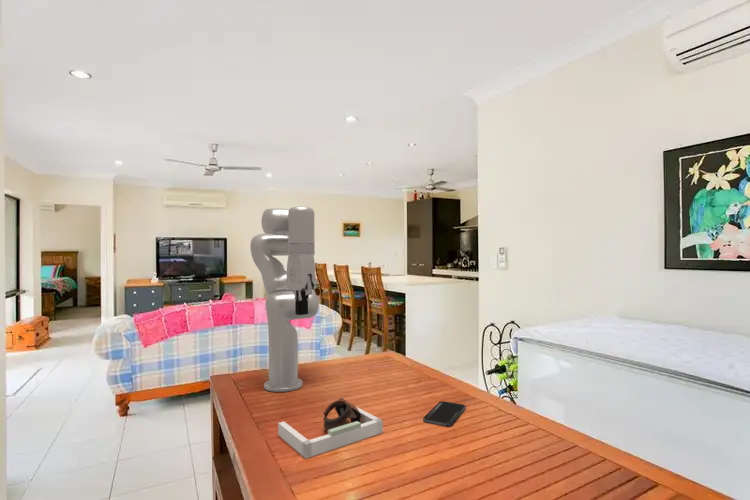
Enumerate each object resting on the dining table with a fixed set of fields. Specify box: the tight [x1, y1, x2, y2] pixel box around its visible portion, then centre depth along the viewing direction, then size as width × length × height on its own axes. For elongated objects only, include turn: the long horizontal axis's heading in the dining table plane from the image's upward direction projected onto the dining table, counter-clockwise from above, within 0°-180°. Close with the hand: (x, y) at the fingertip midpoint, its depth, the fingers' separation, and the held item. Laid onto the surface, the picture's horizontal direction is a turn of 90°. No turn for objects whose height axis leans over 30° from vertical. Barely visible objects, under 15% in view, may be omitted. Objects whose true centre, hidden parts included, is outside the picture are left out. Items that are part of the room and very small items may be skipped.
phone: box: [422, 400, 467, 428], centre depth 112 cm, size 8×1×15 cm
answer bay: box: [277, 406, 384, 460], centre depth 100 cm, size 14×21×4 cm
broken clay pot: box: [323, 397, 363, 432], centre depth 104 cm, size 12×10×8 cm
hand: (301, 314), depth 117 cm, fingers closed
